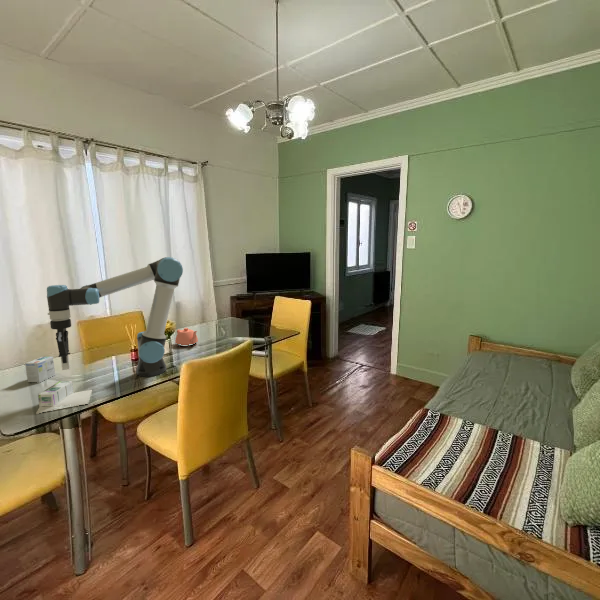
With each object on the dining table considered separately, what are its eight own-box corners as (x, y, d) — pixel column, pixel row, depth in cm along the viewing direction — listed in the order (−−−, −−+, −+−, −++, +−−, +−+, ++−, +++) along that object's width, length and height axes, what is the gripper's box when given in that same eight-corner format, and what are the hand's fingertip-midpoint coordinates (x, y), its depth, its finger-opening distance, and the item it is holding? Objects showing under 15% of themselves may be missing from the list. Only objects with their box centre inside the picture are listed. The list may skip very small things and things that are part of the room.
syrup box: (72, 380, 151) (51, 393, 137) (73, 392, 152) (53, 406, 138) (59, 381, 151) (37, 394, 136) (60, 393, 152) (38, 407, 137)
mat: (92, 390, 155) (91, 389, 155) (88, 404, 141) (88, 403, 141) (45, 398, 147) (45, 397, 146) (36, 414, 133) (36, 413, 132)
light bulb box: (44, 375, 175) (41, 356, 173) (56, 375, 175) (53, 356, 173) (27, 383, 165) (24, 363, 163) (39, 383, 164) (37, 363, 163)
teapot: (206, 344, 231) (205, 328, 229) (188, 350, 219) (187, 332, 217) (186, 340, 243) (185, 324, 241) (169, 345, 231) (167, 328, 229)
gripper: (53, 317, 150) (59, 366, 153) (46, 322, 138) (53, 375, 142) (72, 316, 153) (78, 363, 157) (67, 321, 142) (73, 372, 145)
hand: (66, 369), depth 149 cm, fingers closed
